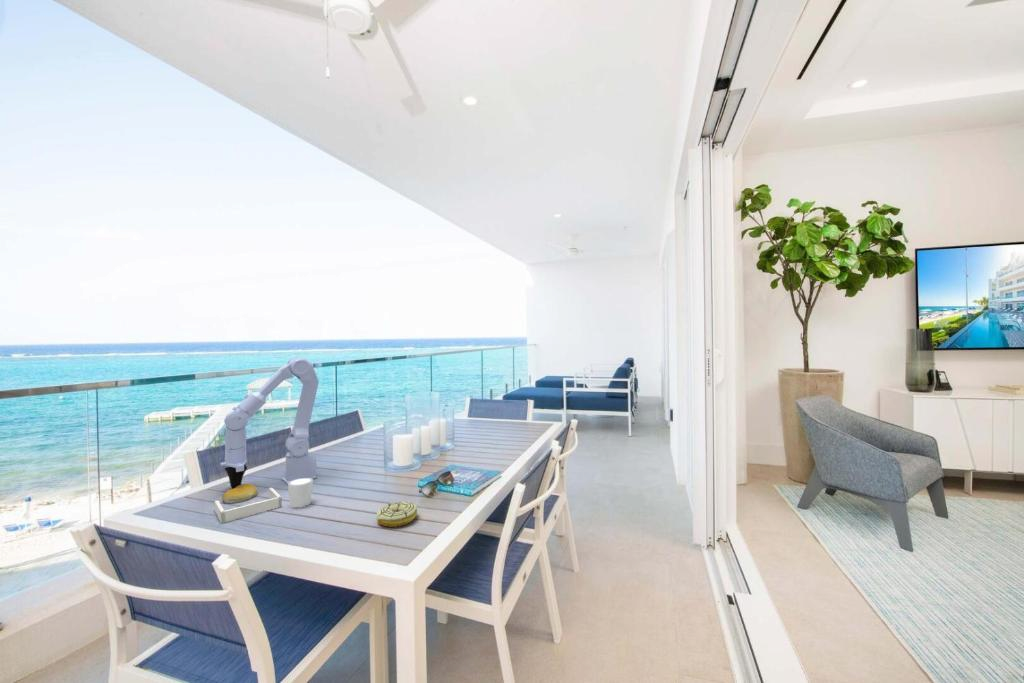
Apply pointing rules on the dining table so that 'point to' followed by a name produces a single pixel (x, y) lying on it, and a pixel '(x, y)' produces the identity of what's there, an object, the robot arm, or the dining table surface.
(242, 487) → the bread roll
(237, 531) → the dining table surface
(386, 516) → the decorated donut
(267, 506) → the tray
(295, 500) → the white short cylinder
